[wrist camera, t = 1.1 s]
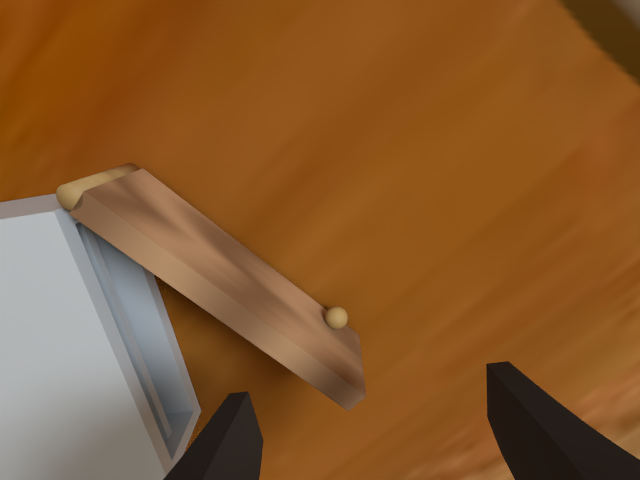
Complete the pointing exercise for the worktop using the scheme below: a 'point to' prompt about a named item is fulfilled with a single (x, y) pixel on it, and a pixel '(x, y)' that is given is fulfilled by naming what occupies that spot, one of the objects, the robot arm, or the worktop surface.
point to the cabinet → (84, 356)
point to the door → (220, 276)
